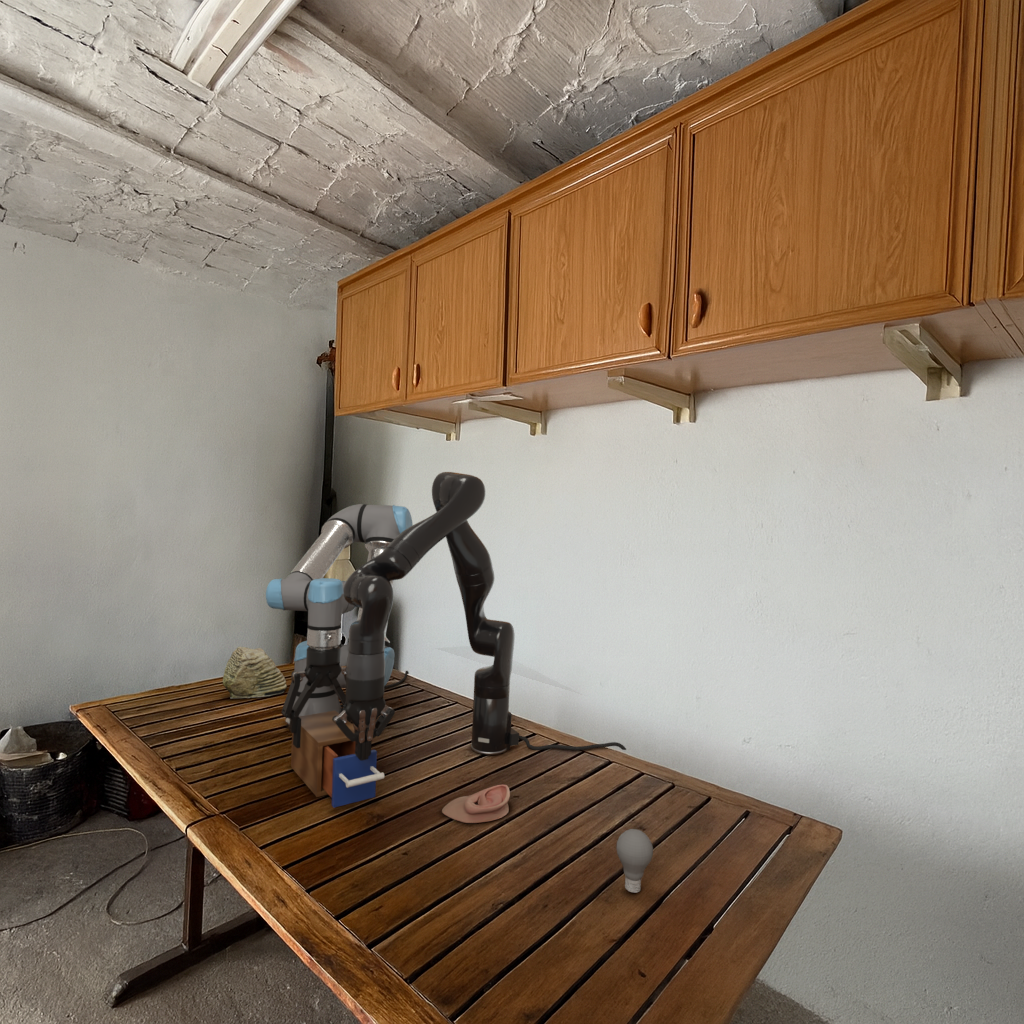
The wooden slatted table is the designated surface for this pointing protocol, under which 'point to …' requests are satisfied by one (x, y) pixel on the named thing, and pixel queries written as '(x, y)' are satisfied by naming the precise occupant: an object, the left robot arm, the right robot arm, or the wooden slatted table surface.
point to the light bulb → (634, 857)
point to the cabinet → (315, 747)
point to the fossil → (252, 674)
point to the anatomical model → (480, 805)
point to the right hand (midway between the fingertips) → (362, 758)
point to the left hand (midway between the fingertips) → (320, 741)
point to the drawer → (348, 774)
